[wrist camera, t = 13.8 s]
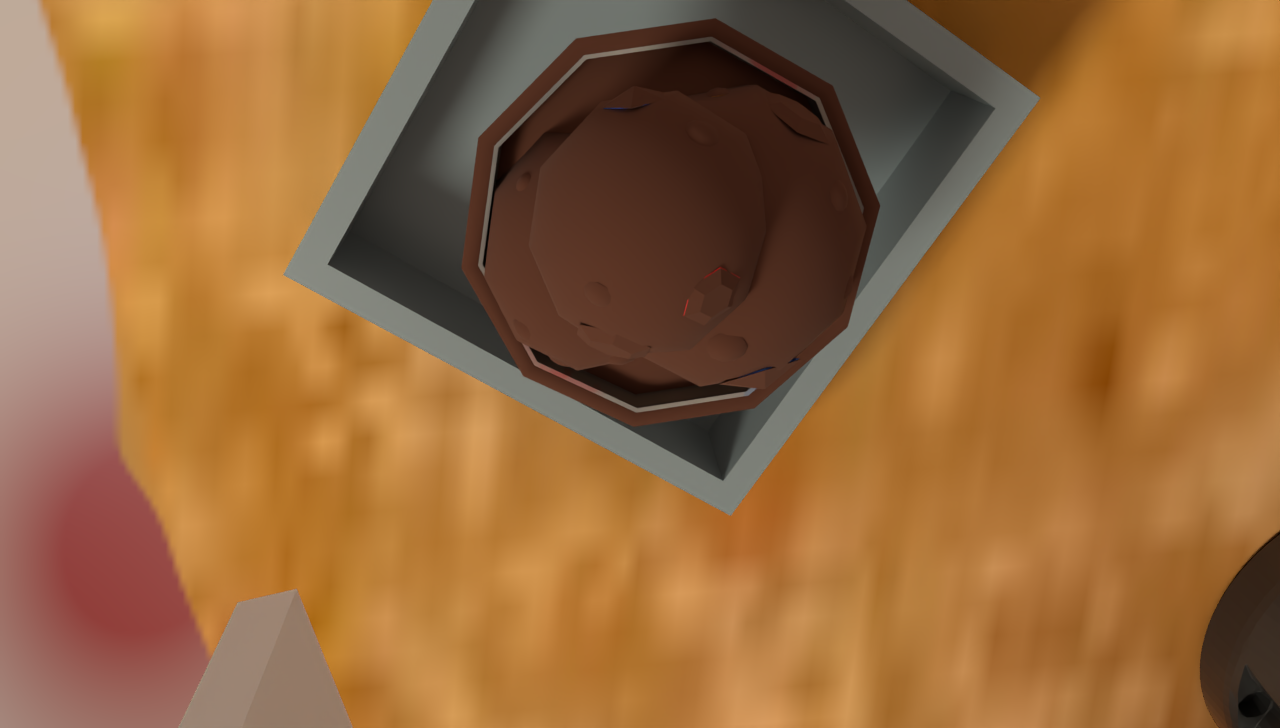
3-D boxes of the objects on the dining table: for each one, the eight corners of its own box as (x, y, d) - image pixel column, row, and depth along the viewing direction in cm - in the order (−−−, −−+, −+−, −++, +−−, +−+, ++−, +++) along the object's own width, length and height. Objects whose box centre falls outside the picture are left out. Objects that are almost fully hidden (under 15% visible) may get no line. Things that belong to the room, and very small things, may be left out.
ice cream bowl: (468, 293, 38) (421, 501, 24) (512, -36, 34) (485, -11, 20) (756, 336, 40) (866, 555, 26) (830, 25, 36) (1007, 87, 22)
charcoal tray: (980, 77, 38) (1040, 98, 33) (711, 451, 43) (730, 515, 38) (565, -223, 33) (567, -247, 29) (315, 233, 38) (283, 274, 33)
